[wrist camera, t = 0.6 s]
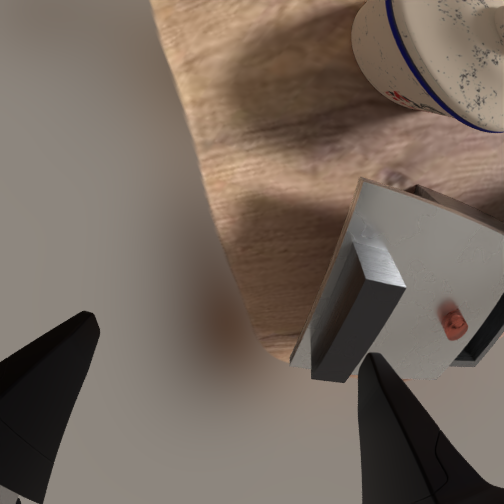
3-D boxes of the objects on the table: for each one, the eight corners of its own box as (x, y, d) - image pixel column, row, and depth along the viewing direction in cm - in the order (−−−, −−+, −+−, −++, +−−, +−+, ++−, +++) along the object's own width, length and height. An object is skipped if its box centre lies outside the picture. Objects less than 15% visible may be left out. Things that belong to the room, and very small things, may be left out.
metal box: (511, 226, 18) (547, 261, 13) (455, 324, 24) (474, 366, 19) (417, 184, 18) (455, 218, 13) (361, 308, 24) (373, 360, 19)
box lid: (522, 241, 12) (553, 274, 9) (433, 372, 19) (444, 408, 16) (359, 176, 12) (383, 207, 9) (289, 357, 19) (287, 402, 16)
